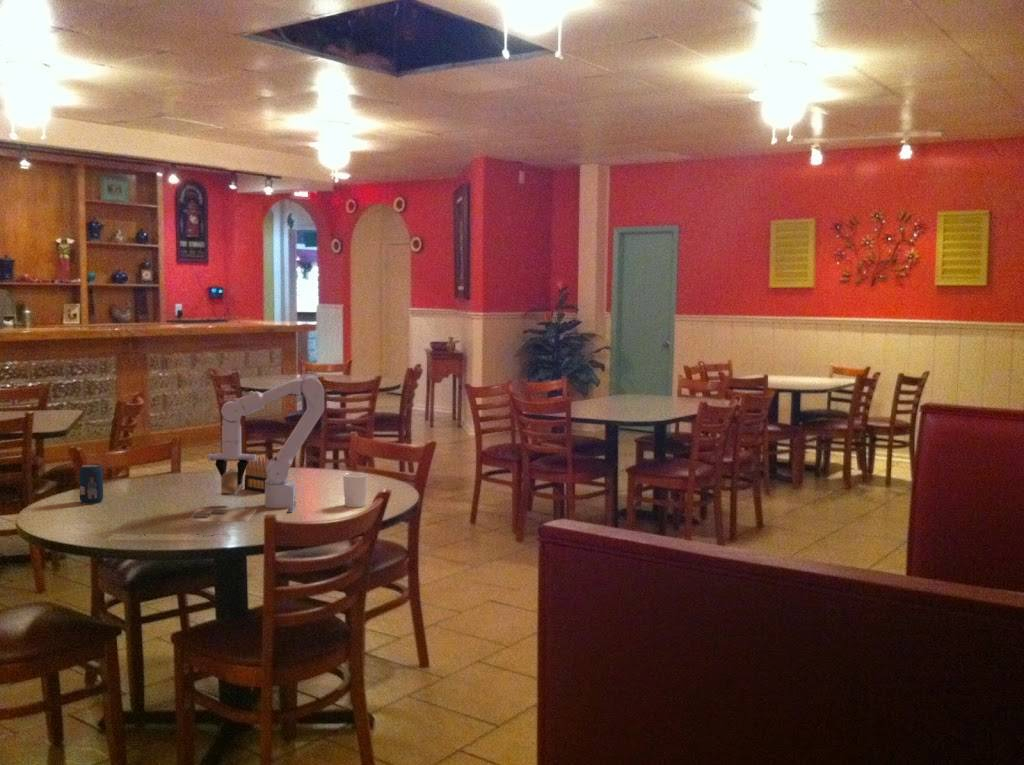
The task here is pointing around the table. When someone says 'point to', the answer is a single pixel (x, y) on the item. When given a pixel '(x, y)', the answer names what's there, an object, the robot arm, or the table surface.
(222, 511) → the charcoal chip
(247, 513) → the birch board
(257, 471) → the ammunition clip
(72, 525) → the table surface
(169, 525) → the table surface
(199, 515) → the charcoal chip
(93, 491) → the soda can
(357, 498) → the white cup
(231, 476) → the block
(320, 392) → the robot arm
